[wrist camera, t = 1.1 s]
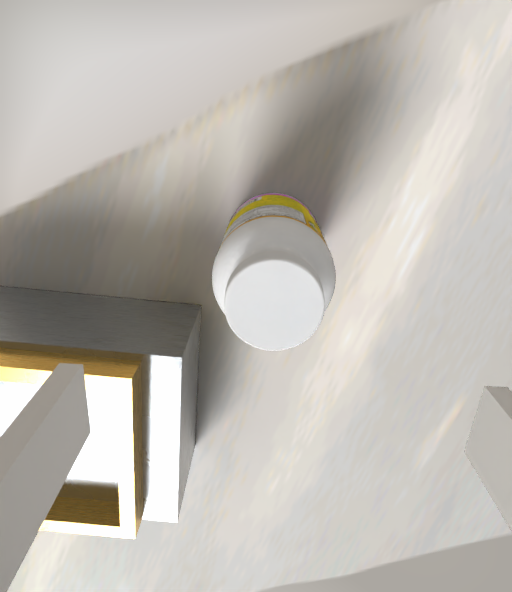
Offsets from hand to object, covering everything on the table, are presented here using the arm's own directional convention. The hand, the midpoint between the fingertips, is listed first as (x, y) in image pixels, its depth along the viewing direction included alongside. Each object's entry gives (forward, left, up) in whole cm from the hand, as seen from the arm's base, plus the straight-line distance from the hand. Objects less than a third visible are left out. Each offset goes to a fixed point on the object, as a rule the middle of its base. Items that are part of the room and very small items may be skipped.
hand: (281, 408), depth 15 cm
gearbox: (+16, +12, -19) cm, 28 cm away
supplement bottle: (0, -1, -19) cm, 19 cm away
